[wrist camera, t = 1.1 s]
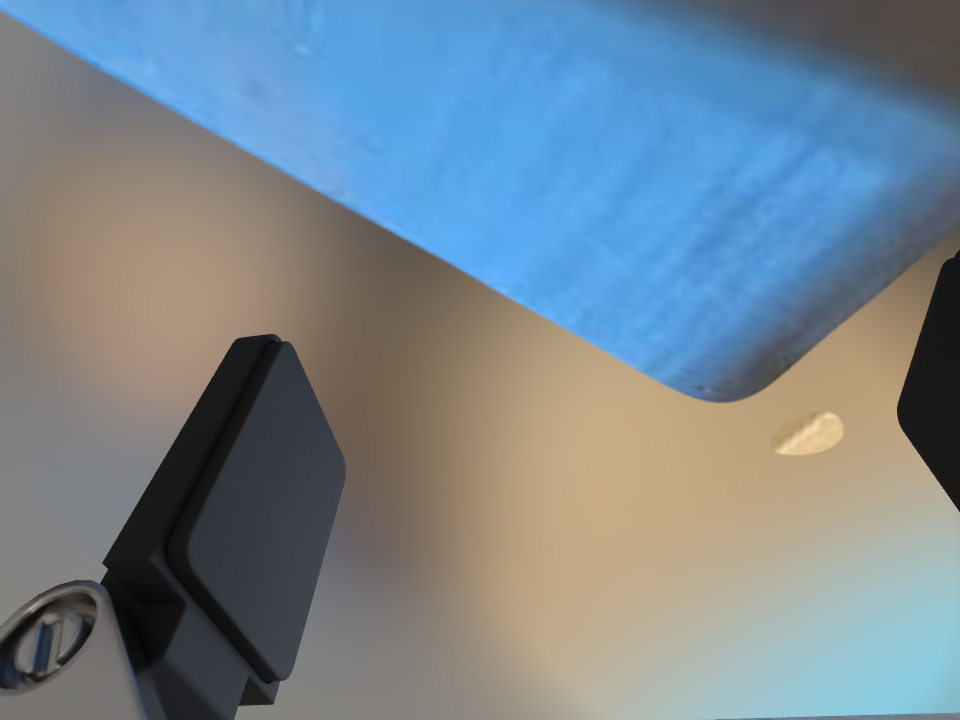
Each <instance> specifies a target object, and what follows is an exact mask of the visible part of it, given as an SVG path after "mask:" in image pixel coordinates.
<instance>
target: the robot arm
mask: <svg viewBox="0 0 960 720" xmlns="http://www.w3.org/2000/svg"><path fill="white" fill-rule="evenodd" d="M897 416H898V421H899V424H900V426H901V428H902V430H903V432H904V433H905V434H906V436H907V437H908V439H909V440H910V442H911V443H912V444H913V446H914V447H915V449H916V450H917V452H918V453H919V454H920V456H921V457H922V459H923V460H924V462H925V463H926V465H927V466H928V467H929V469H930V470H931V472H932V473H933V474H934V476H935V477H936V479H937V480H938V481H939V483H940V485H941V486H942V487H943V489H944V490H945V492H946V493H947V494H948V496H949V497H950V499H951V500H952V502H953V503H954V504H955V506H956V507H957V509H958V510H959V512H960V250H959V251H958V252H957V253H956V255H955V257H954V258H951V259H948V260H947V261H946V262H945V263H944V264H943V266H942V268H941V270H940V273H939V276H938V279H937V282H936V286H935V289H934V292H933V295H932V298H931V301H930V305H929V308H928V311H927V314H926V317H925V320H924V323H923V326H922V330H921V333H920V336H919V339H918V342H917V345H916V348H915V352H914V355H913V358H912V361H911V364H910V367H909V370H908V374H907V377H906V380H905V383H904V386H903V389H902V392H901V395H900V398H899V402H898V406H897ZM345 477H346V466H345V460H344V458H343V455H342V453H341V451H340V448H339V446H338V444H337V442H336V440H335V438H334V435H333V433H332V431H331V429H330V426H329V424H328V422H327V420H326V418H325V415H324V413H323V411H322V409H321V407H320V404H319V402H318V400H317V398H316V396H315V394H314V391H313V389H312V387H311V385H310V383H309V380H308V378H307V376H306V374H305V371H304V369H303V367H302V365H301V363H300V360H299V358H298V356H297V354H296V352H295V349H294V348H293V346H292V345H291V344H290V343H289V342H287V341H284V342H282V341H281V339H280V338H279V337H278V336H277V335H274V334H267V335H258V336H251V337H243V338H238V339H236V340H235V341H234V342H233V344H232V345H231V347H230V349H229V350H228V352H227V354H226V355H225V357H224V359H223V361H222V362H221V364H220V365H219V367H218V369H217V371H216V372H215V374H214V376H213V377H212V379H211V381H210V382H209V384H208V386H207V387H206V389H205V391H204V393H203V394H202V396H201V398H200V399H199V401H198V403H197V404H196V406H195V408H194V409H193V411H192V413H191V414H190V416H189V418H188V419H187V421H186V423H185V425H184V426H183V428H182V429H181V431H180V433H179V435H178V436H177V438H176V440H175V441H174V443H173V445H172V446H171V448H170V450H169V451H168V453H167V455H166V456H165V458H164V460H163V462H162V463H161V465H160V467H159V468H158V470H157V472H156V473H155V475H154V477H153V479H152V480H151V482H150V483H149V485H148V487H147V488H146V490H145V492H144V493H143V495H142V497H141V499H140V500H139V502H138V504H137V505H136V507H135V509H134V510H133V512H132V514H131V516H130V517H129V519H128V520H127V522H126V524H125V526H124V527H123V529H122V531H121V532H120V534H119V536H118V538H117V539H116V541H115V542H114V544H113V546H112V547H111V549H110V551H109V552H108V554H107V556H106V558H105V559H104V561H103V564H104V565H105V566H106V567H107V568H108V571H107V573H106V574H105V576H104V577H103V579H102V581H101V583H100V584H98V583H96V582H94V581H91V580H75V581H72V582H68V583H64V584H61V585H57V586H55V587H53V588H51V589H49V590H47V591H45V592H43V593H41V594H39V595H37V596H36V597H35V598H33V599H32V600H30V601H29V602H28V603H26V604H25V605H23V606H22V607H20V608H19V609H18V610H17V611H16V612H15V613H14V614H13V615H12V616H11V617H10V618H9V619H8V620H6V621H5V623H3V625H1V626H0V720H234V718H235V714H236V712H237V708H238V706H243V705H244V706H245V705H272V704H274V701H275V697H276V694H277V691H278V687H279V683H280V681H283V680H286V679H287V678H288V677H289V676H290V674H291V672H292V670H293V667H294V664H295V660H296V656H297V653H298V649H299V645H300V642H301V638H302V634H303V631H304V627H305V623H306V620H307V616H308V612H309V609H310V605H311V602H312V598H313V594H314V591H315V587H316V584H317V580H318V576H319V573H320V569H321V565H322V562H323V558H324V554H325V551H326V547H327V543H328V540H329V536H330V532H331V529H332V526H333V522H334V518H335V515H336V511H337V507H338V504H339V500H340V496H341V493H342V489H343V485H344V481H345ZM719 720H960V713H940V714H938V713H937V714H936V713H935V714H896V715H858V716H857V715H856V716H821V717H787V718H753V719H719Z"/></svg>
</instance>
